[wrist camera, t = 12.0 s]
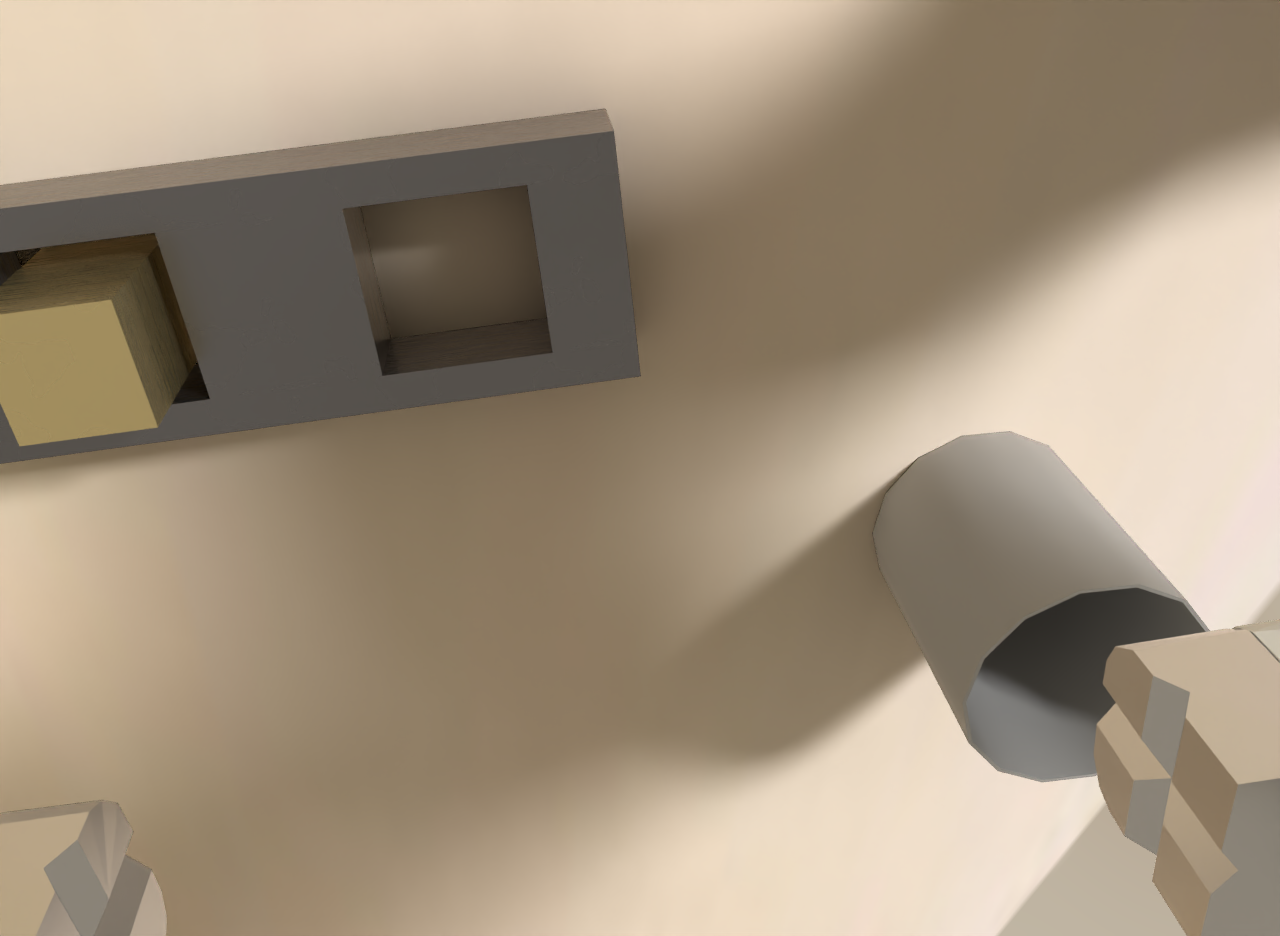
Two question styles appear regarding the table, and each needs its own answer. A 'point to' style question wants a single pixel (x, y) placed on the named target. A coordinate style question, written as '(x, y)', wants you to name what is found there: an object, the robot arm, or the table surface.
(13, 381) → the block
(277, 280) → the rail
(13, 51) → the table surface
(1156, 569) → the cup
